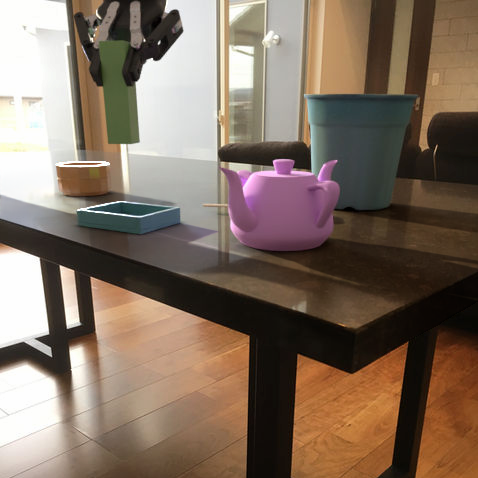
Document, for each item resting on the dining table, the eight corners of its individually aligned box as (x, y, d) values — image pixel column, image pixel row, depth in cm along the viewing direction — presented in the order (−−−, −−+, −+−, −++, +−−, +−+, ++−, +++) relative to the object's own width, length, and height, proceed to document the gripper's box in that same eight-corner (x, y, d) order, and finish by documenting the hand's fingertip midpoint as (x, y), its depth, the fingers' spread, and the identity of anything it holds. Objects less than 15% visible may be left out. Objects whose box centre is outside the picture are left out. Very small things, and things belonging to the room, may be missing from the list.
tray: (77, 225, 66) (76, 209, 65) (121, 215, 73) (120, 200, 72) (140, 234, 62) (139, 217, 61) (180, 222, 68) (180, 207, 67)
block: (107, 143, 62) (98, 40, 58) (117, 142, 65) (108, 43, 61) (131, 144, 62) (123, 40, 58) (140, 142, 65) (133, 43, 60)
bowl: (48, 194, 91) (44, 164, 89) (85, 188, 98) (82, 160, 96) (86, 198, 87) (83, 167, 85) (122, 191, 94) (120, 163, 92)
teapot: (219, 253, 53) (218, 164, 50) (238, 226, 66) (238, 154, 63) (336, 257, 52) (343, 166, 49) (332, 229, 65) (337, 155, 61)
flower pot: (418, 214, 74) (434, 92, 68) (303, 213, 75) (310, 91, 69) (390, 197, 89) (401, 95, 83) (295, 196, 90) (299, 95, 84)
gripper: (77, -49, 63) (39, 53, 57) (188, -54, 61) (163, 51, 54) (99, 9, 70) (68, 106, 63) (200, 6, 68) (179, 106, 61)
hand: (112, 80), depth 59 cm, fingers closed on block, 3 cm apart
